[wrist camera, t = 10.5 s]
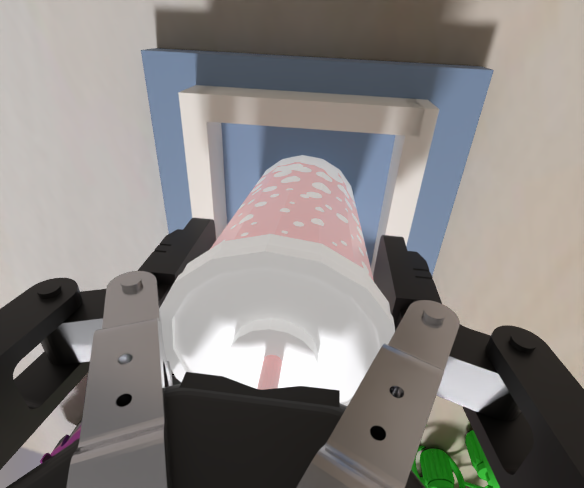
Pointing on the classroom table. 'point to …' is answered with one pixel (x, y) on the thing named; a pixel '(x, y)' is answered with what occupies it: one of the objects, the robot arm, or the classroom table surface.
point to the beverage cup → (282, 290)
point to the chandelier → (453, 466)
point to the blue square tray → (315, 134)
